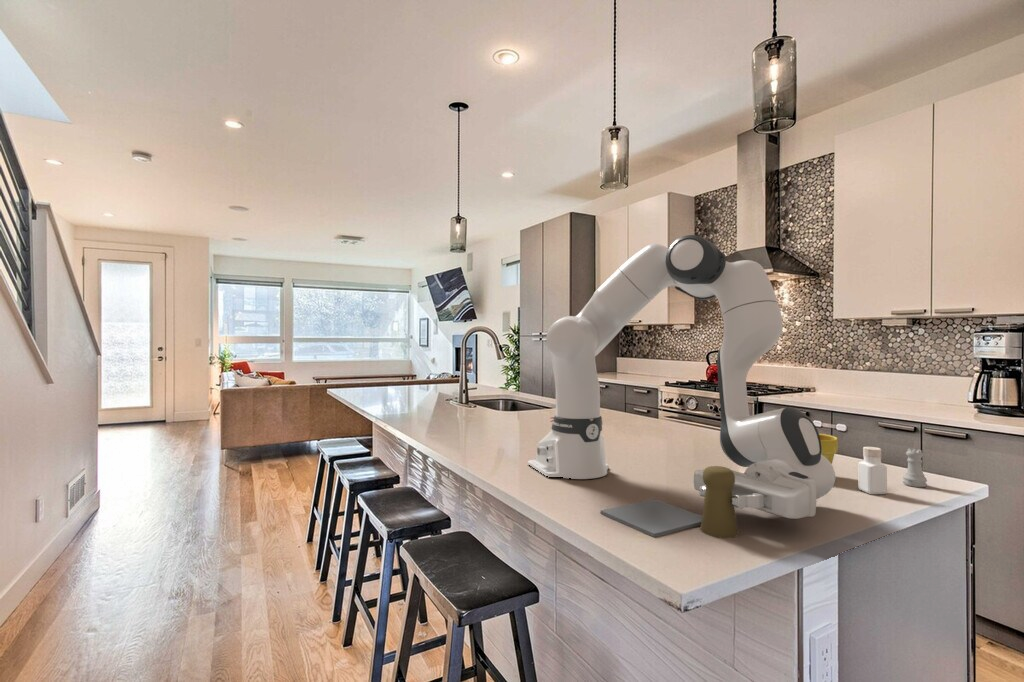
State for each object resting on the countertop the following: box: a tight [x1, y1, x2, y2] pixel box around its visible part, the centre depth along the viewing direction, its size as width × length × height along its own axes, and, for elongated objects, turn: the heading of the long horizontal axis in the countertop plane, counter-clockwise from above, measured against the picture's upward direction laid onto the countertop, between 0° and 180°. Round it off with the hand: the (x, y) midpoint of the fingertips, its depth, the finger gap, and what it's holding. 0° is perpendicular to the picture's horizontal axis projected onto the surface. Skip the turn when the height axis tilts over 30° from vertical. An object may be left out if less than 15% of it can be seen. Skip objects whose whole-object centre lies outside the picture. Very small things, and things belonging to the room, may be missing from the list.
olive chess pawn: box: [700, 465, 739, 539], centre depth 89 cm, size 6×6×11 cm
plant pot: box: [819, 433, 839, 465], centre depth 124 cm, size 10×10×10 cm
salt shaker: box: [857, 446, 888, 495], centre depth 111 cm, size 4×4×10 cm
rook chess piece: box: [902, 448, 928, 489], centre depth 116 cm, size 4×4×8 cm
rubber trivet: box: [600, 498, 702, 538], centre depth 96 cm, size 14×14×1 cm
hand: (718, 497), depth 88 cm, fingers open, 5 cm apart
